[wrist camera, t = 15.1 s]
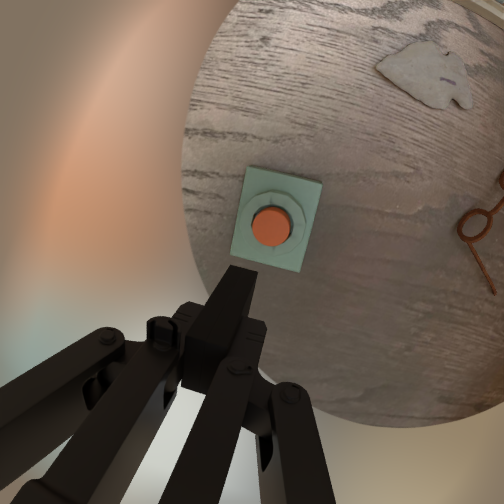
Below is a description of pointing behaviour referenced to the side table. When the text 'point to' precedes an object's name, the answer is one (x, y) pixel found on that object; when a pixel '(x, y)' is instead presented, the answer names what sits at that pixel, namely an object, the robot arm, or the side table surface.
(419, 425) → the side table surface
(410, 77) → the decorative stone
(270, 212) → the button
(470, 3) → the window frame
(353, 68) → the side table surface
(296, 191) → the button box
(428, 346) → the side table surface
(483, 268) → the glasses
